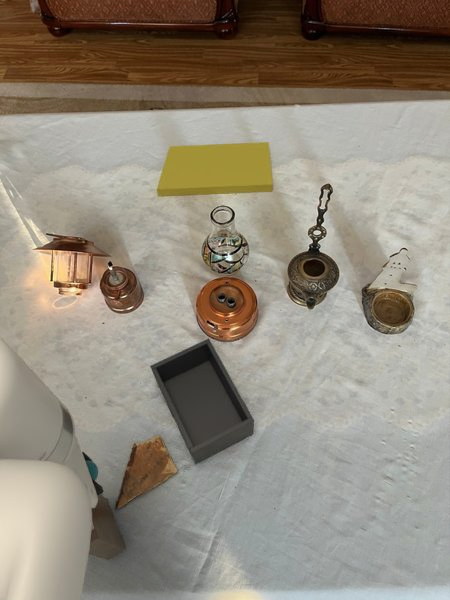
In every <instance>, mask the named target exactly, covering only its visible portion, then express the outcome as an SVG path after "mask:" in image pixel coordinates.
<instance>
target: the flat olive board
mask: <svg viewBox="0 0 450 600" xmlns="http://www.w3.org/2000/svg"><path fill="white" fill-rule="evenodd" d="M272 173H273V172H272V162H271V151H270V142H269V141H266V142H265V141H263V142H261V141H260V142H240V143H238V142H237V143H236V142H235V143H218V144H217V143H216V144H215V143H213V144H193V145H175V146H174V145H171V146H170V145H169V147H168V151H167V154H166V157H165V160H164V164H163V167H162V170H161V174H160V177H159V181H158V183H157V187H156V192H157V197H178V196H199V195H224V194H226V195H227V194H247V193H248V194H249V193H271V192H273V189H274V188H273V187H274V184H273V183H274V182H273V174H272Z"/></svg>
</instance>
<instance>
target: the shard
mask: <svg viewBox="0 0 450 600" xmlns="http://www.w3.org/2000/svg"><path fill="white" fill-rule="evenodd" d="M178 472H179V470H178V468H177V467H176V465H175V463H174V461H173V459H172V457H171V455H170V453H169V452H168V450H167V447H166V445H165V442H164V440H163V438H162V437H161V436H160V435H157V436H154V437H152V438H151V439H149V440H145V441H144V442H140V443H133V444H132V449H131V451H130V455H129V459H128V462H127V464H126V468H125V470H124V474H123V477H122V481H121V485H120V489H119V494H118V496H117V500H116V503H115V506H114V510H118V509H121V508H122V507H123V506H125V505H127V504H128V503H129V502H130V501H132V500H133V499H135V498H136V497H138V496H140V495H142V494H145V493H146V492H148V491H150V490H151V489H153V488H155V487H157V486H158V485H160V484H163V483H164V482H166V481H167V480H168V479H169V478H170V477H172V476H174V475H175V474H177V473H178Z"/></svg>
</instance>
